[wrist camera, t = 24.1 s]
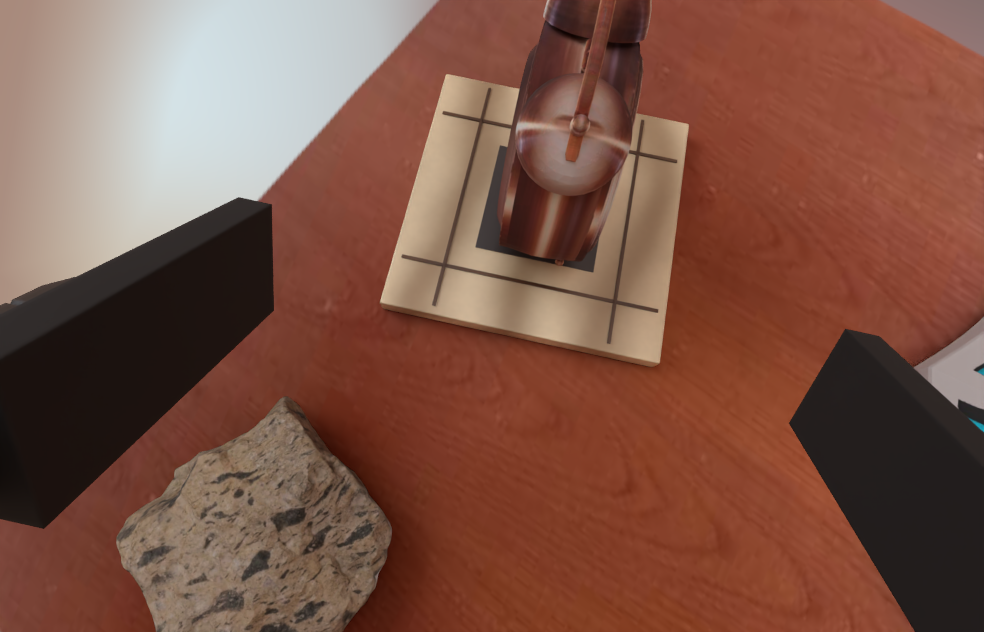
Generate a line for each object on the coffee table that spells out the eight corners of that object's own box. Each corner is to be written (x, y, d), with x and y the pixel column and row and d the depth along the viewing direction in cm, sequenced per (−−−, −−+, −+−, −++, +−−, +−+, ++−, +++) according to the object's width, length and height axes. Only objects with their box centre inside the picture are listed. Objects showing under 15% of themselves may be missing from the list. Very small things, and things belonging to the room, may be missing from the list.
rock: (244, 714, 24) (200, 764, 20) (130, 516, 27) (69, 525, 22) (427, 561, 27) (420, 577, 23) (308, 390, 29) (282, 377, 25)
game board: (382, 308, 30) (379, 302, 29) (446, 86, 35) (446, 72, 34) (652, 367, 30) (660, 363, 29) (682, 135, 35) (690, 122, 33)
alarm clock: (569, 299, 30) (663, 139, 15) (486, 281, 30) (501, 105, 15) (598, 138, 33) (700, -122, 18) (523, 122, 33) (565, -148, 18)
